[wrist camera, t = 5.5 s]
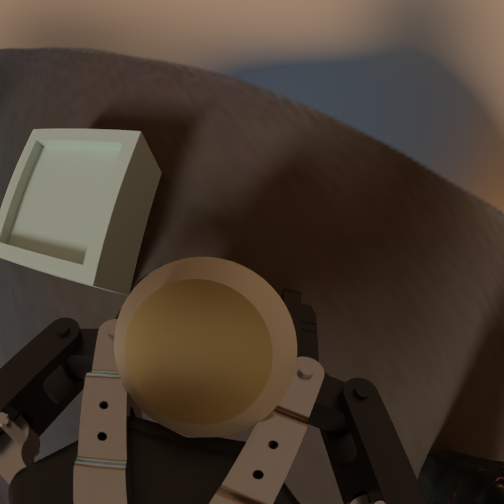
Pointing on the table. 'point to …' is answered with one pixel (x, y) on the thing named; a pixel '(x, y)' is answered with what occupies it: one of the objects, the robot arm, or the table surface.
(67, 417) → the table surface
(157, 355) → the post
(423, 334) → the table surface
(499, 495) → the dark green curved piece
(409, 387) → the table surface
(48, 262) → the pedestal
